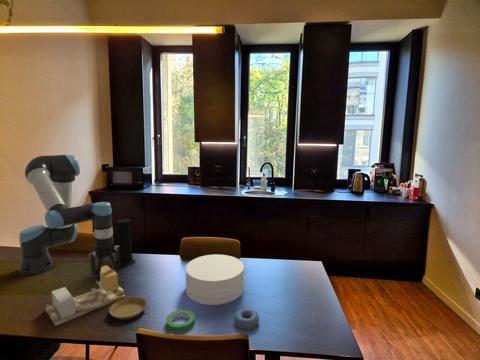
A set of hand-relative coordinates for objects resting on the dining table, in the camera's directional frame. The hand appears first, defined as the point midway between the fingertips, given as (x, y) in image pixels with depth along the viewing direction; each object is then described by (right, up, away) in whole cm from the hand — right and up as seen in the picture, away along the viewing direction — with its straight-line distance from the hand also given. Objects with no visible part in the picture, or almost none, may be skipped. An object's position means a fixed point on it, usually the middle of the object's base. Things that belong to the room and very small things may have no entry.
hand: (107, 284), depth 130 cm
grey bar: (-13, -6, -12) cm, 19 cm away
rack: (-6, -6, -6) cm, 10 cm away
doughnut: (+64, -9, -18) cm, 67 cm away
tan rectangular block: (0, 0, 0) cm, 0 cm away
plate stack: (+49, -5, +8) cm, 50 cm away
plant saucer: (+14, -8, -11) cm, 20 cm away
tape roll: (+38, -9, -18) cm, 43 cm away
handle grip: (-5, 0, +34) cm, 35 cm away
